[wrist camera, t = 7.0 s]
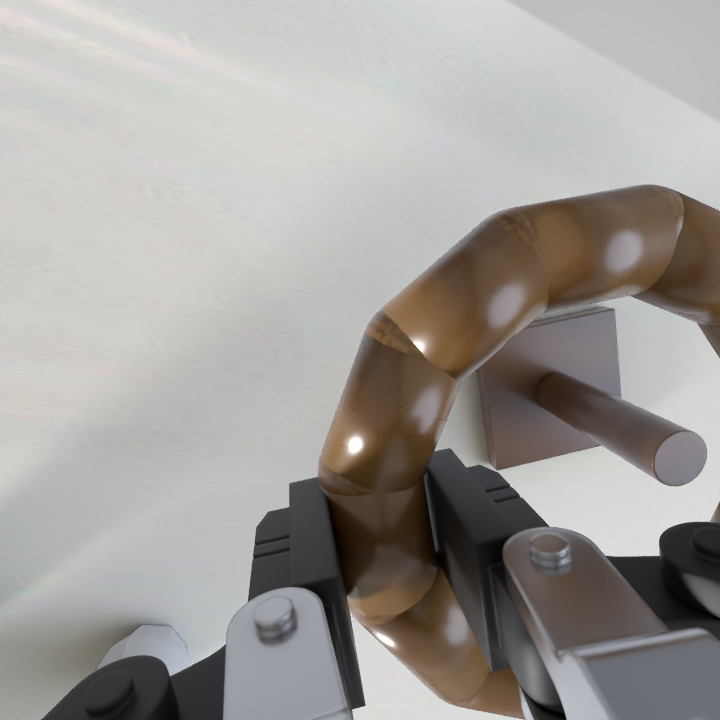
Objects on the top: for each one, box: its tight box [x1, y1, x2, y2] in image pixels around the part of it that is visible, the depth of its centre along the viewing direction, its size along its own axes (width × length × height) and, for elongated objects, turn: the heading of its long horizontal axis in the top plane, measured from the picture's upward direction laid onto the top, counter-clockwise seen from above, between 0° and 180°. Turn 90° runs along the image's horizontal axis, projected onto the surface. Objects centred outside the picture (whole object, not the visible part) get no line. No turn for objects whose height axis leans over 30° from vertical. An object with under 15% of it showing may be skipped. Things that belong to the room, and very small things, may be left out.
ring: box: [318, 185, 720, 720], centre depth 11 cm, size 11×11×2 cm
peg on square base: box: [477, 307, 707, 486], centre depth 28 cm, size 9×9×12 cm
